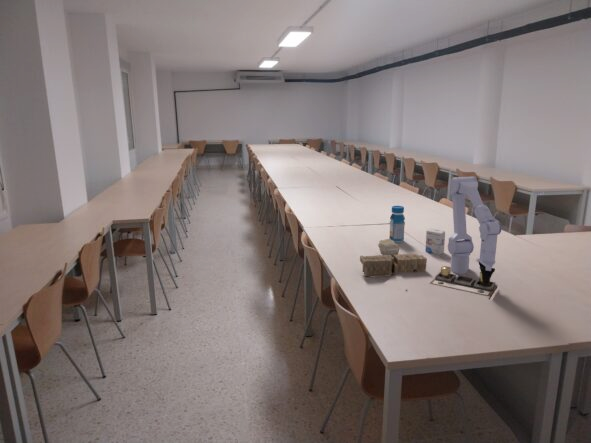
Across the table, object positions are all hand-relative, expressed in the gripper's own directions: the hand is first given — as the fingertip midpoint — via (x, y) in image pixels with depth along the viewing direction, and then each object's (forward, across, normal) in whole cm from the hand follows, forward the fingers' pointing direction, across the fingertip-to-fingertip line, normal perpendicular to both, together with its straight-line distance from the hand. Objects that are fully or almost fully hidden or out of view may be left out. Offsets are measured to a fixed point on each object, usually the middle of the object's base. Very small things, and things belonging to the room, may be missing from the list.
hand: (485, 281), depth 175 cm
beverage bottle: (+4, -61, -42) cm, 74 cm away
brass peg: (+2, 0, 0) cm, 2 cm away
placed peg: (+2, -5, -15) cm, 16 cm away
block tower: (+4, -9, -38) cm, 40 cm away
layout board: (+4, 0, -8) cm, 9 cm away
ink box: (+4, -45, -21) cm, 50 cm away
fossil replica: (+4, -34, -43) cm, 55 cm away
